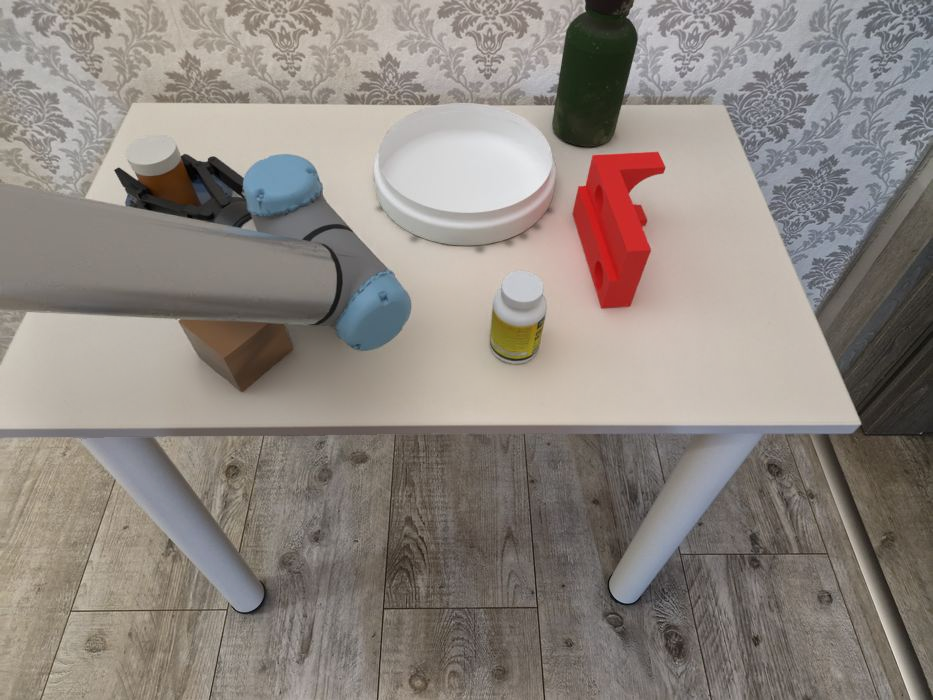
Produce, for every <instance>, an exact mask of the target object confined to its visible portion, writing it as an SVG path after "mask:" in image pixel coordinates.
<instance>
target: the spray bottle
mask: <svg viewBox="0 0 933 700" xmlns="http://www.w3.org/2000/svg"><path fill="white" fill-rule="evenodd" d="M584 2H585V5H584V10H585V11H584V12H581V13H580V14H579V15H578V16H577V17H575V18H573V20H572V21H571V22H570V23H569V25H568V26H567V28H566V31H565V36H564V37H565V38H564V44H563V50H562V57H561V62H560V63H561V64H560V69H559V77H558V82H557V83H558V84H557V88H556V89H557V90H556V97H555V103H554V109H553V114H552V123H551V124H552V125H551V126H552V130H553V133H554V134H556V135H557V136H558V137H559V138H560V139H561V140H563V142H566V143H569V144H572V145H574V146H578V147H596V146H599V145H602V144H604V143H605V144H606V143H607V142H609V141H610V140H611V139H612V138H613V137H614V135H615V133H616V129H617V125H618V121H619V117H620V113H621V109H622V105H623V103H624V102H623V101H624V97H625V95H626V94H625V93H626V89H627V85H628V81H629V77H630V73H631V69H632V65H633V61H634V58H635V54H636V50H637V46H638V41H639V38H638V31H637V29H636V26H635V25H634V23H633V21H632V20H631V19H629V18H628V16H629V15H630V12H631V9H632V8H633V6H634V3H635V0H584Z"/></svg>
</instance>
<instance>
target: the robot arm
mask: <svg viewBox="0 0 933 700" xmlns="http://www.w3.org/2000/svg"><path fill="white" fill-rule="evenodd" d="M181 159H182V161H183V163H184V166H185V168H186V170H187V173H188V175H189V177H190V180H192V181H193V182H194V181H196V180H197V179H198V177H199V179H200V181H201V184H203V185H204V187H205V188H206V190H207V192H208V193H209V195H210V196H211V199H209V200H208V201H207V202H206V203H205V204H203V205H200V206H198V207H197V206H194V205H191V204H187V205H186V206H185V205H182V204H179V203H176V202H172V201H169V200H166V199H163V198H159V197H156V196H153V195H152V194H151V192H150V190H149V188H148V187H146V186H145V185H143V184H142V183H141V182H139V181H138V179H136V178H135V177H134V176H132V175H131V174H129V173H128V172H126V171H125V170H123V169H122V168H121V167H119V166H117V168H115V169H113V171H114V173H115V175H116V177H117V178H118V180H119V182H120V184H121V186H122V187H123V188H124V191H125V193H126V195H127V194H128V196H129V198H130V200H132V201H133V202H135V203H132V204H130V206H129V207H128V206H126V205H122V204H118V203H117V204H116V203H112V202H107V201H102V200H101V201H100V200H97V199H90V198H86V197H82V196H81V197H80V196H75V195H70V194H64V193H59V192H54V191H50V190H49V191H48V190H44V189H38V188H34V187H28V186H22V185H18V184H12V183H8V182H3V181H0V312H16V313H17V312H20V313H42V314H59V315H60V314H61V315H83V316H84V315H85V316H106V317H122V318H123V317H126V318H147V319H148V318H149V319H169V320H180V319H187V320H209V321H230V322H251V323H273V324H284V325H296V326H297V325H298V326H313V327H329V328H332V329H333V330H334V331H335V335H336V337H337V338H339V339H341V340H343V341H344V343H345V344H346V345H347V346H348V347H350V348H351V349H354V350H355V351H358V352H369V351H373V350H376V349H379V348H381V347H383V346H385V345H386V344H388V343H389V342H391V341H392V340H394V338H395V337H397V336H398V335H399V334H400V333H401V332H402V331H403V328H404V326H405V324H407V322H408V320H409V318H410V317H411V312H412V299H411V297H410V294H409V293H408V291H407V289H405V288H404V286H403V285H402V284H401V282H400V281H399V280H398V278H397V277H396V273H395V272H393V270H391V269H389V268H388V267H387V266H386V265H385V264H384V263H383V262H382V261H381V259H380V258H379V257H378V256H377V255H376V254H375V253H374V252H373V251H372V250H371V249H370V248H369V247H368V245H366V243H364V241H362V240H361V238H360V237H359V236H358V235H357V234H356V233H355V232H354V231H353V229H352V228H351V227H350V226H349V225H348V224H347V222H346V221H345V220H343V218H342V217H341V216H340V215H339V214H338V212H337V211H336V210H335V209H334V208H333V207H332V206H331V205H330V204H329V203H328V201H327V200H326V198H325V196H324V193H323V190H324V186H323V183H322V181H321V180H320V176H319V174H318V171H317V169H316V167H315V165H313V163H312V162H311V161H310V160H309V159H307V158H305V157H303V156H300V155H297V154H291V153H290V154H289V153H281V154H272V155H269V156H268V157H266V158H263V159H260V160H257V161H256V162H255V163H253V164H252V165H251V166H250V167H249V168H248V169H247V170H246V172H245V174H244V176H243V175H240V174H239V173H238V172H237V171H236V170H234V169H233V168H231V166H228V165H227V164H226V163H225V162H223V161H222V159H221V160H220V159H219V158H218V157H216V156H212V155H211V156H209V157H208V158H207V161H202V160H197V159H195V158H194V157H193V156H191V155H189V154H187V153H183V154H181ZM211 175H214V176H215V177H217V178H218V179H219V180H220V181H222V182H223V183H224V184H226V185H227V186H228V187H229V188H231V189H232V190H233V191H235V192H236V193H237V195H238V197H227V196H225V194H224V193H223V191H222V190H221V188H220V187H219V186H218V185H217V183H216V182H215V180H214V179H213V177H212V176H211ZM197 176H198V177H197ZM239 196H240V197H239Z"/></svg>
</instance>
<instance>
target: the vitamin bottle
mask: <svg viewBox="0 0 933 700" xmlns="http://www.w3.org/2000/svg"><path fill="white" fill-rule="evenodd" d="M124 155H125V158H126V160H127V163H128V164H129V166H130V168H131V170H132V171H133V172H134V174H135V176H136V178H137V180H139V182H141V183H142V184H143V185H145V186H146V187H148V188H149V190H150V192H151V194H152V195H153V196H156V197H159V198H163V199H166V200H169V201H172V202H176V203H179V204H182V205H185V206H186V205H187V204H191V205H194V206H197V207H198V206H200V205H201V203H200V201H199V198H198V196H197V194H196V191H195V189H194V187H193V184H192V182H191V180H190V177H189V175H188V173H187V170H186V168H185V166H184V163H183V161H182V159H181V156H182V154H181V152H180V150H179V147H178V145H177V142H176V141H175V139H174V138H172V137H171V136H168V135H166V134H161V133H155V134H154V133H153V134H147V135H143V136H141V137H138V138H136V139H134V140H133V141H132V142H130V143H129V144H128V145H127V146H126V148H125V151H124Z"/></svg>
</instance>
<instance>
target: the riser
mask: <svg viewBox="0 0 933 700" xmlns="http://www.w3.org/2000/svg"><path fill="white" fill-rule="evenodd" d="M177 322H178V324H179V325H180V327H181V329H182V331H183V332H184V334H185V336H186V338H187V340H188V341H189V343H190V344H191V346H192V347H193V350H194V352H195V353H196V354H197V356H198V358H200V360H202V361H203V362H204V363H205V364H207V365H208V366H209V367H210V368H212V369H213V370H214V371H215V372H216V373H218V375H220V376H221V377H222V378H224V379H225V380H226V381H227V382H228V383H230V384H231V385H232V386H234V388H235V389H237V390H238V391H239V392H240V393H243V392H244V391H245V390H246V389H247V388H249V387H250V386H251V385H253V384H254V383H255V382H256V381H257V380H259V379H260V378H261V377H262V376H263V375H265V374H266V373H267V372H268V371H269V370H271V369H272V368H273V367H274V366H275V365H277V363H279V362H280V361H281V360H283V359H284V358H285V357H287V356H288V355H289V354H290V353H291V352H292V351H293V350H294V347H293V344H292V341H291V339H290V335H289V333H288V331H287V327H286V324H273V323H251V322H230V321H209V320H187V319H178V321H177Z"/></svg>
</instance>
